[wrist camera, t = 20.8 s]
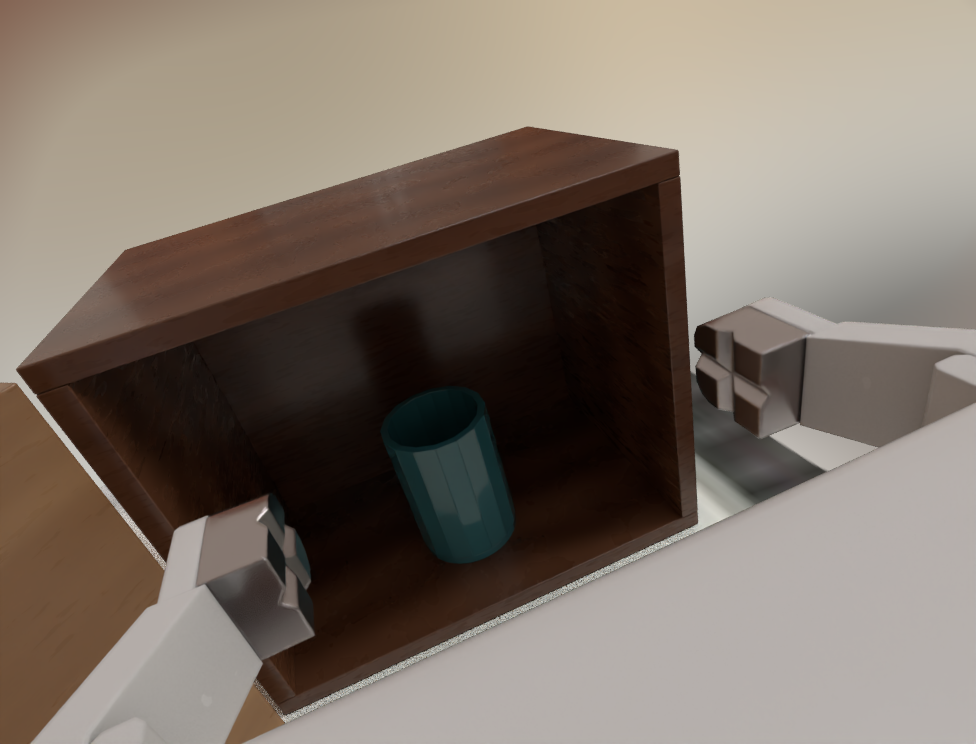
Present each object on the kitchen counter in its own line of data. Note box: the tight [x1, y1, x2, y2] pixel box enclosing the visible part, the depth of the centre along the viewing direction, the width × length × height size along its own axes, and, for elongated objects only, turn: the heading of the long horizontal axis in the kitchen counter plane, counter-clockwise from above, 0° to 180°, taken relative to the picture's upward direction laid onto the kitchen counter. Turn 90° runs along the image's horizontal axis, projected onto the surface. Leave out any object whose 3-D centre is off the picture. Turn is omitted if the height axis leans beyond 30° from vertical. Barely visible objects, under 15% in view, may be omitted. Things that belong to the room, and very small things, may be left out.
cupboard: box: [16, 127, 698, 715], centre depth 37 cm, size 18×28×24 cm, turn 110°
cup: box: [380, 386, 516, 564], centre depth 38 cm, size 7×7×10 cm
